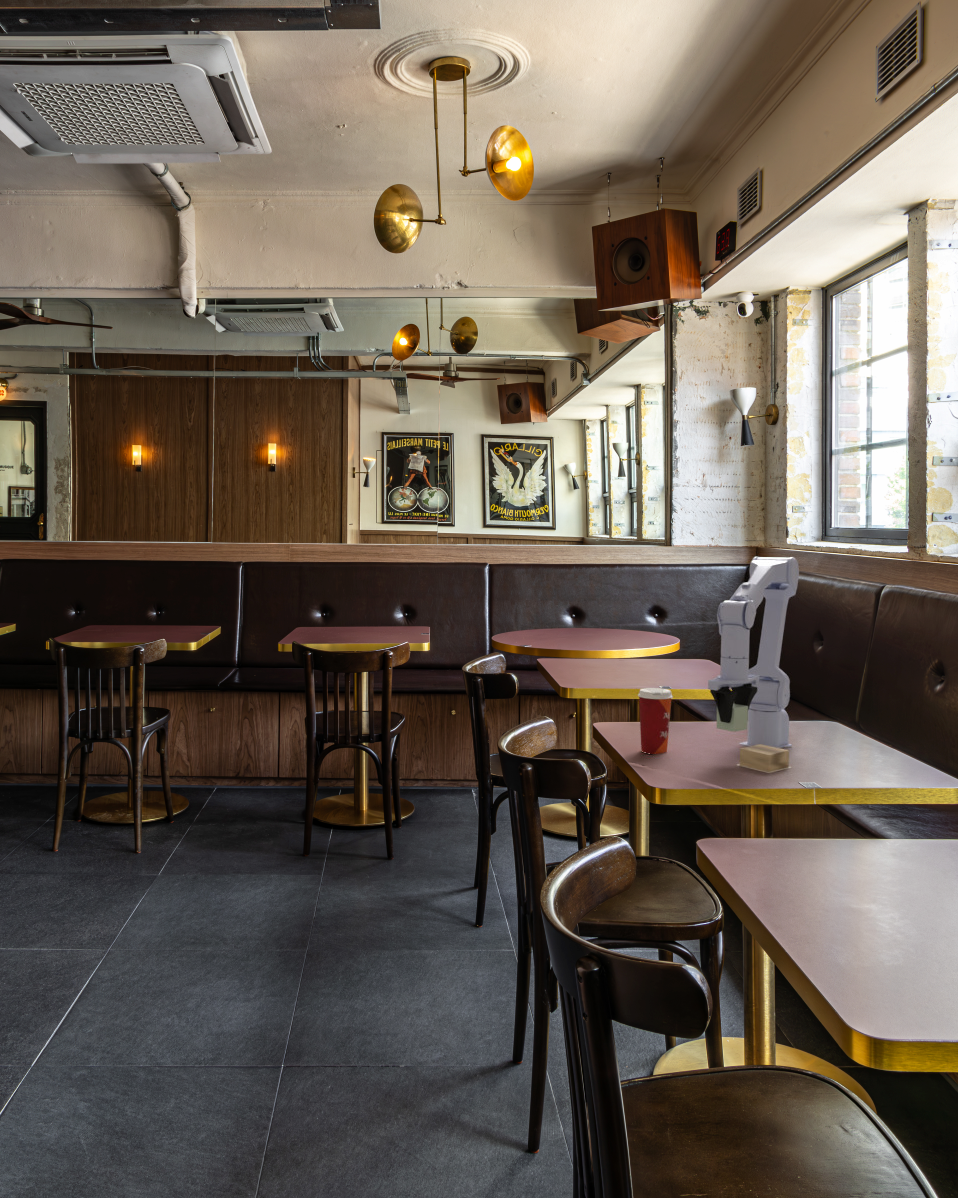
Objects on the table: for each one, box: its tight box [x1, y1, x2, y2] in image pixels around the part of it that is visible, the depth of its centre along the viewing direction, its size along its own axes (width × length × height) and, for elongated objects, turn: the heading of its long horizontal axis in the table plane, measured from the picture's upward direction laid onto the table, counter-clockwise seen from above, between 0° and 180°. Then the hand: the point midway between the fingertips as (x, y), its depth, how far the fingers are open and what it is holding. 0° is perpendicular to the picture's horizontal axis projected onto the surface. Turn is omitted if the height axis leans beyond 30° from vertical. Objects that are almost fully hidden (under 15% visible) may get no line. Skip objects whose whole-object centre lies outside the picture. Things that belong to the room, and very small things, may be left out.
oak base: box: [739, 744, 790, 773], centre depth 181 cm, size 7×7×4 cm
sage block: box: [716, 703, 748, 733], centre depth 185 cm, size 4×4×5 cm
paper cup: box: [637, 687, 674, 755], centre depth 195 cm, size 8×8×14 cm
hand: (733, 720), depth 185 cm, fingers closed on sage block, 4 cm apart
